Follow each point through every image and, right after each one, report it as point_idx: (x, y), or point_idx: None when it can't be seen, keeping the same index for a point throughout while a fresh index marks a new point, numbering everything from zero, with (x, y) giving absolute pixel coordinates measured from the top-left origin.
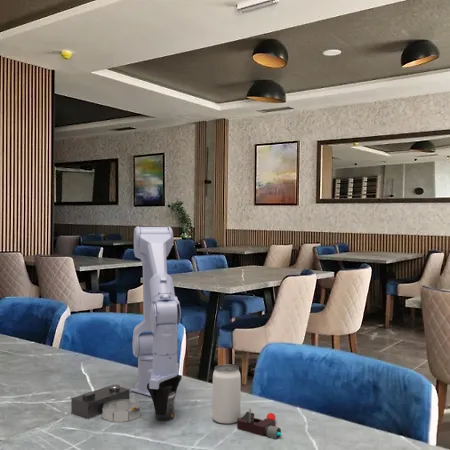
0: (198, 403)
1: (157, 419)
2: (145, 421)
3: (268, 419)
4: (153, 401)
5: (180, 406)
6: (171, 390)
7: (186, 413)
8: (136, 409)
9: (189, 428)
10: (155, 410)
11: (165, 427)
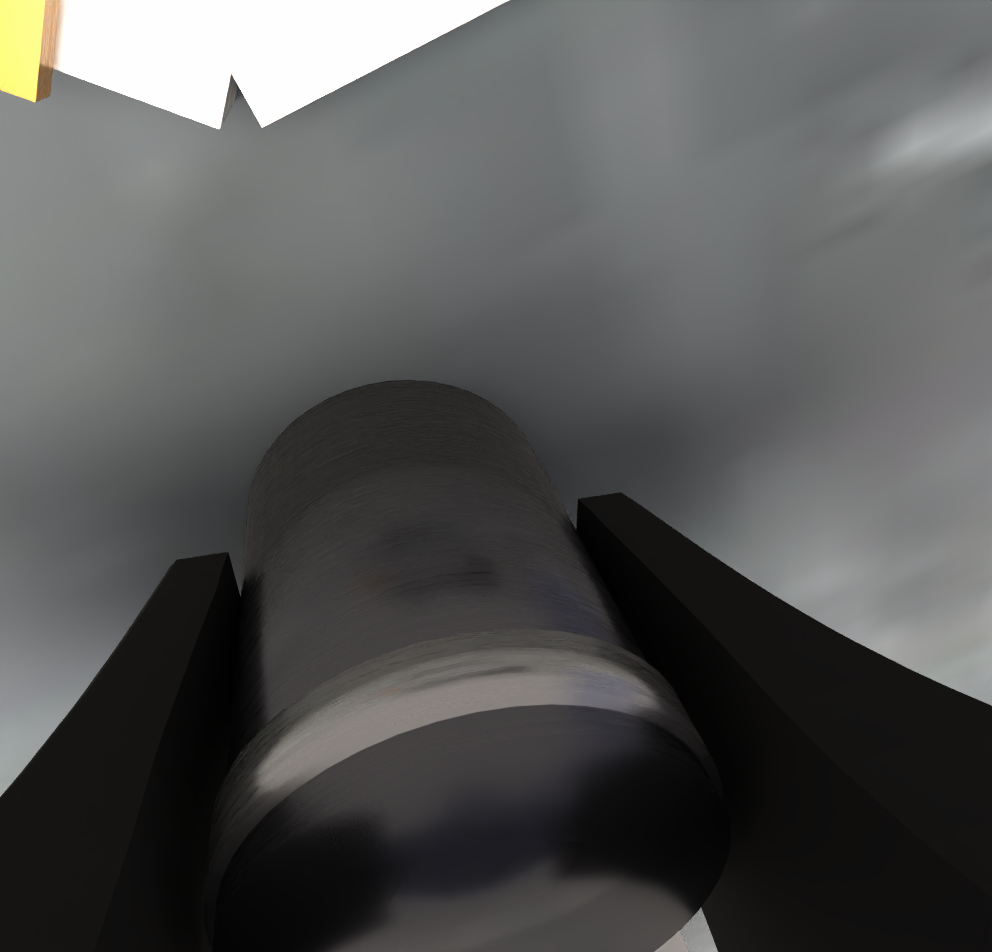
0: (936, 622)
1: (255, 482)
2: (95, 323)
3: None
4: (19, 782)
5: (846, 505)
6: (630, 946)
7: None
8: (83, 76)
9: None
10: (146, 608)
11: (61, 682)
